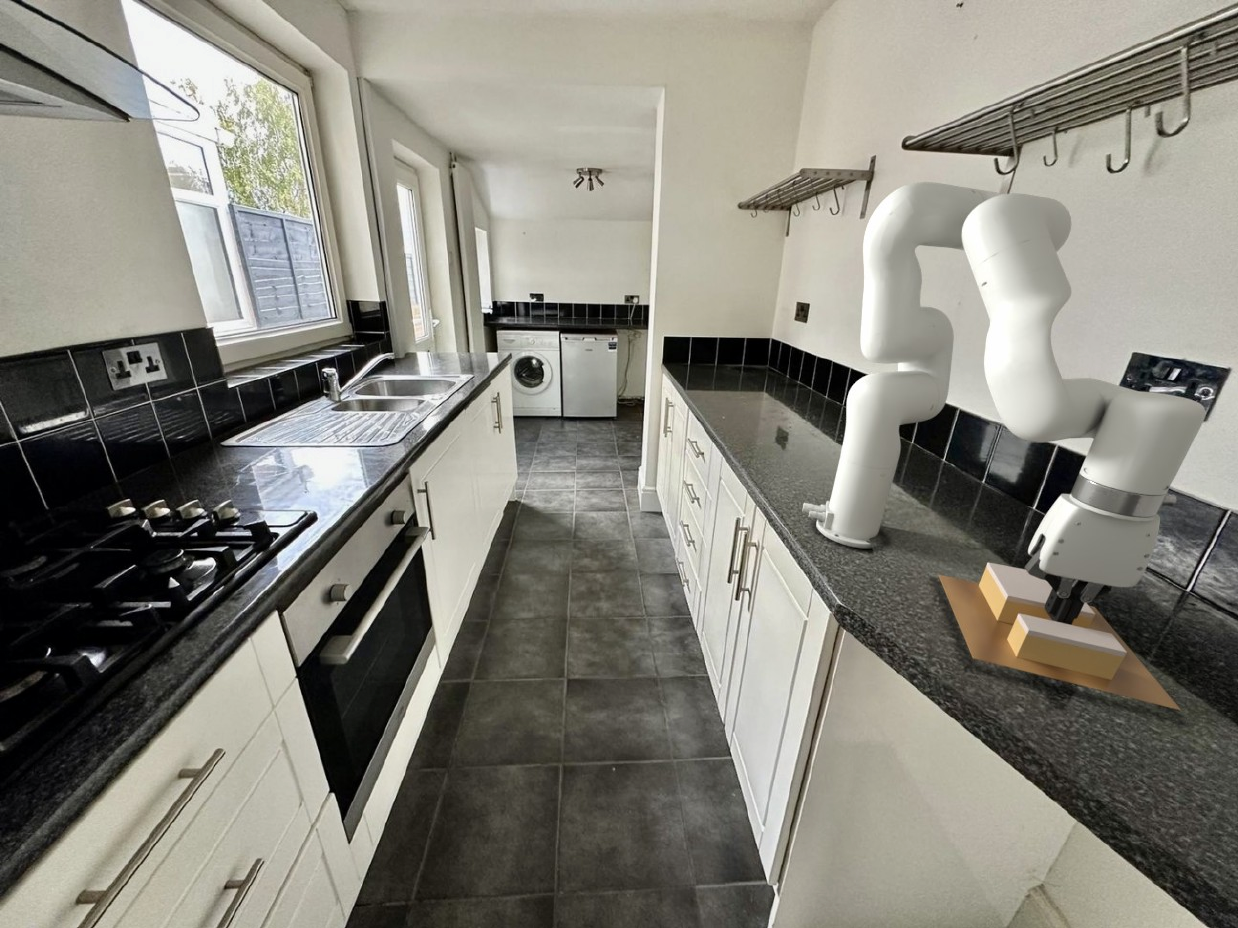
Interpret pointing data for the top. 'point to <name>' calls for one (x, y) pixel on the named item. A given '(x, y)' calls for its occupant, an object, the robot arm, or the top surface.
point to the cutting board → (994, 647)
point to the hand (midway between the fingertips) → (1057, 618)
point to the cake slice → (1066, 646)
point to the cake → (1020, 595)
